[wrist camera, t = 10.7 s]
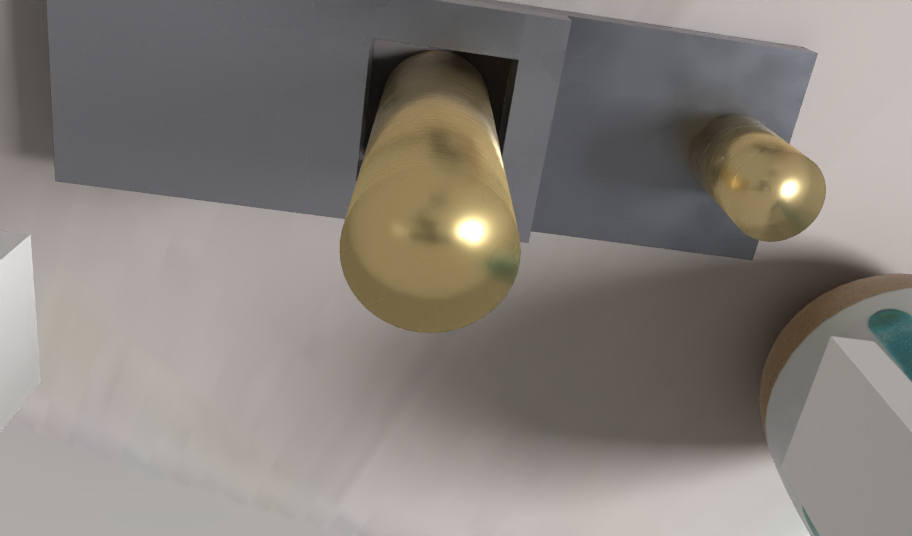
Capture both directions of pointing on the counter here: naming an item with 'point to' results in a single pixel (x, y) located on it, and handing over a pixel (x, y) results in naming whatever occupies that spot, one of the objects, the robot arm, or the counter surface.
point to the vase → (805, 340)
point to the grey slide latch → (521, 128)
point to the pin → (431, 202)
